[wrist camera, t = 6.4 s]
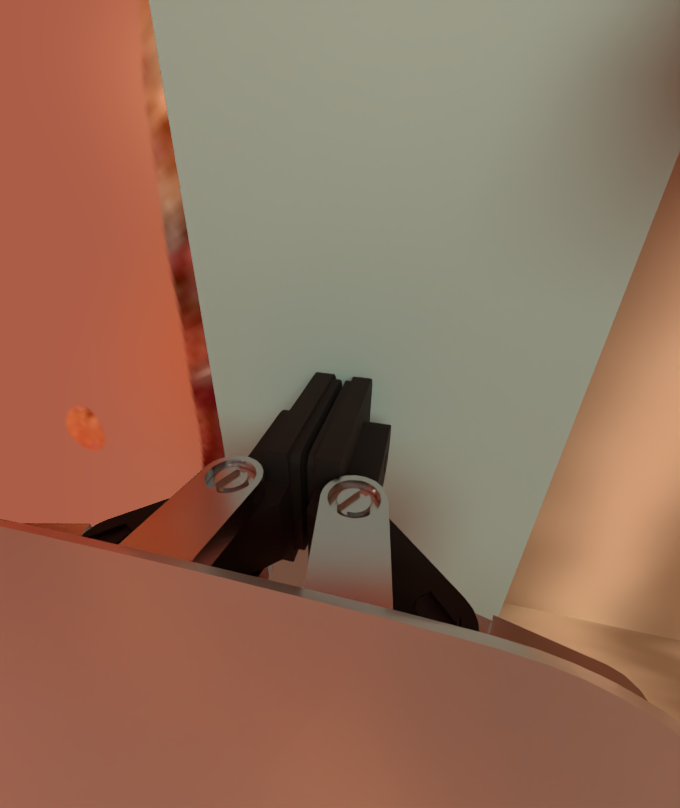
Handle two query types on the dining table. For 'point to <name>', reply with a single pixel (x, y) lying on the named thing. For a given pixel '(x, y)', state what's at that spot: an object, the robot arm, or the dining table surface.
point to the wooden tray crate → (620, 491)
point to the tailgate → (421, 229)
